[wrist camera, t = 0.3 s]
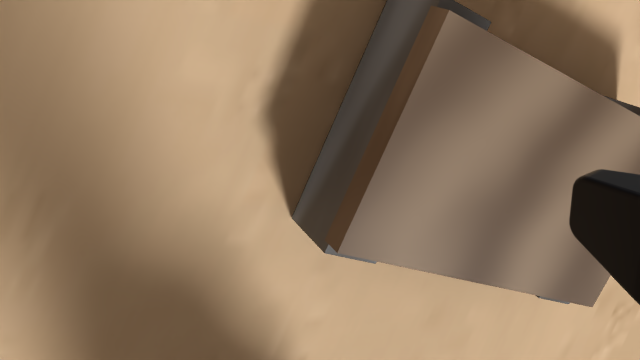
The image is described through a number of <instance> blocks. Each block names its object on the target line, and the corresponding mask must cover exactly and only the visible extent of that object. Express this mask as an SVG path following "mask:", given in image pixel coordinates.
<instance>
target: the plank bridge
mask: <svg viewBox="0 0 640 360" xmlns="http://www.w3.org/2000/svg"><path fill="white" fill-rule="evenodd" d="M490 24H491V22H490V21H489V20H487V19H485V18H484V17H482V16H480V15H478V14H477V13H475V12H473V11H471V10H470V9H468V8H466V7H464V6H463V5H461V4H459V3H457V2H456V1H454V0H387V2H386V4H385V7H384V9H383V11H382V14H381V16H380V18H379V20H378V23H377V25H376V27H375V30H374V32H373V34H372V36H371V39H370V41H369V43H368V45H367V48H366V50H365V52H364V55H363V57H362V59H361V61H360V64H359V66H358V68H357V71H356V73H355V75H354V77H353V80H352V82H351V84H350V86H349V89H348V91H347V93H346V96H345V98H344V100H343V102H342V105H341V107H340V109H339V112H338V114H337V116H336V118H335V121H334V123H333V125H332V127H331V130H330V132H329V134H328V137H327V139H326V141H325V143H324V146H323V148H322V150H321V153H320V155H319V157H318V159H317V162H316V164H315V166H314V168H313V171H312V173H311V175H310V178H309V180H308V182H307V184H306V187H305V189H304V191H303V194H302V196H301V198H300V200H299V203H298V205H297V207H296V209H295V212H294V214H293V216H292V219H293V220H294V221H295V222H296V223H297V224H298V225H299V226H300V228H301V229H302V230H303V231H304V232H305V233H306V234H307V235H308V236H309V237H310V238H311V239H312V240H313V241H314V242H315V243H316V245H317V246H318V247H319V248H320V249H321V250H322V251H323V252H324V253H326V254H331V255H336V256H341V257H345V258H350V259H355V260H360V261H365V262H369V263H374V264H376V262H381V263H386V264H391V265H396V266H400V267H405V268H410V269H414V270H419V271H424V272H429V273H433V274H438V275H443V276H447V277H452V278H457V279H462V280H466V281H471V282H476V283H480V284H485V285H490V286H495V287H499V288H504V289H509V290H513V291H518V292H523V293H528V294H532V295H536V296H537V297H538V298H542V299H546V300H551V301H556V302H561V303H565V304H569V303H575V304H579V305H584V306H589V307H593V305H594V303H595V302H596V300H597V298H598V296H599V295H600V293H601V291H602V289H603V288H604V286H605V284H606V282H607V281H608V279H609V277H610V274H609V273H608V272H607V270H606V269H605V268H604V267H603V266H602V265H601V264H600V263H599V262H598V261H597V260H596V259H595V258H594V257H593V256H592V255H591V254H590V253H589V252H588V251H587V249H586V248H585V247H584V246H583V245H582V244H581V243H580V242H579V241H578V240H577V239H576V238H575V237H574V235H573V233H572V231H571V229H570V225H569V217H570V207H571V197H572V188H573V184H574V182H575V181H576V179H578V178H579V177H581V176H583V175H585V174H588V173H590V172H592V171H594V170H598V169H605V170H612V171H619V172H626V173H633V174H640V108H639V107H636V106H633V105H630V104H627V103H624V102H621V101H618V100H615V99H612V98H609V97H606V96H603V95H601V94H599V93H597V92H596V91H594V90H592V89H590V88H588V87H587V86H585V85H583V84H581V83H579V82H578V81H576V80H574V79H572V78H570V77H569V76H567V75H565V74H563V73H561V72H560V71H558V70H556V69H554V68H552V67H551V66H549V65H547V64H545V63H543V62H542V61H540V60H538V59H536V58H534V57H533V56H531V55H529V54H527V53H526V52H524V51H522V50H520V49H518V48H517V47H515V46H513V45H511V44H509V43H508V42H506V41H504V40H502V39H500V38H499V37H497V36H495V35H493V34H491V33H490V32H488V31H487V30H488V28H489V26H490Z"/></svg>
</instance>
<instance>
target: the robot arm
mask: <svg viewBox="0 0 640 360" xmlns="http://www.w3.org/2000/svg"><path fill="white" fill-rule="evenodd" d="M569 225H570V229H571V231H572V233H573V235H574V237H575V238H576V239H577V240H578V241H579V242H580V243H581V244H582V245H583V246H584V247H585V248H586V249H587V251H588V252H589V253H590V254H591V255H592V256H593V257H594V258H595V259H596V260H597V261H598V262H599V263H600V264H601V265H602V266H603V267H604V268H605V269H606V270H607V272H608V273H609V274H610V275H611V276H612V277H613V278H614V279H615V280H616V281H617V282H618V283H619V284H620V285H621V286H622V287H623V288H624V289H625V290H626V291H627V292H628V294H629V295H630V296H631V297H632V298H633V299H634V300H635V301H636V302H637V303H638V304H639V305H640V174H633V173H626V172H619V171H612V170H605V169H598V170H594V171H592V172H590V173H588V174H585V175H583V176H581V177H579V178H578V179H576V181H575V182H574V184H573V188H572V197H571V207H570V217H569Z"/></svg>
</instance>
